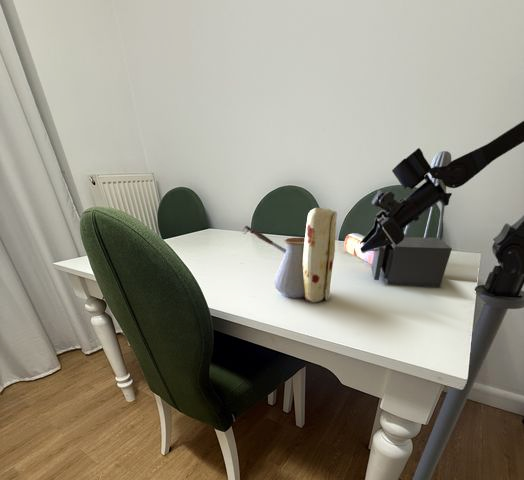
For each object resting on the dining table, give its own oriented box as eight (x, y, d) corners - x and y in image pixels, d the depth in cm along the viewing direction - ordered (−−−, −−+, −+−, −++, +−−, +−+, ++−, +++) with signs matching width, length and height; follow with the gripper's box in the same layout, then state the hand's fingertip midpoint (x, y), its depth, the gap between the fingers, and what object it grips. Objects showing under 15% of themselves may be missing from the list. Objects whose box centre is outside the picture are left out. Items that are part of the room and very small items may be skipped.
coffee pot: (325, 289, 75) (331, 228, 68) (305, 304, 67) (309, 236, 59) (258, 277, 86) (256, 222, 78) (234, 288, 78) (229, 229, 70)
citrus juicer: (396, 259, 98) (419, 152, 82) (422, 257, 99) (450, 151, 83) (417, 269, 88) (447, 150, 73) (446, 266, 90) (482, 149, 74)
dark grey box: (387, 284, 77) (395, 246, 72) (382, 270, 88) (389, 236, 83) (439, 287, 75) (452, 248, 69) (428, 272, 85) (438, 237, 80)
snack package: (390, 266, 92) (395, 243, 88) (371, 267, 91) (375, 245, 87) (358, 251, 110) (361, 232, 106) (342, 252, 108) (344, 233, 105)
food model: (307, 290, 75) (313, 204, 65) (333, 293, 73) (343, 205, 62) (296, 304, 68) (300, 210, 57) (324, 308, 65) (334, 210, 55)
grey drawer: (357, 278, 79) (361, 249, 75) (356, 267, 89) (360, 240, 85) (420, 282, 76) (429, 251, 71) (412, 269, 85) (419, 241, 81)
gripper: (392, 176, 78) (343, 219, 86) (403, 179, 62) (342, 230, 71) (414, 210, 80) (365, 248, 89) (430, 220, 65) (369, 265, 73)
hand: (360, 247), depth 80 cm, fingers closed on grey drawer, 6 cm apart
